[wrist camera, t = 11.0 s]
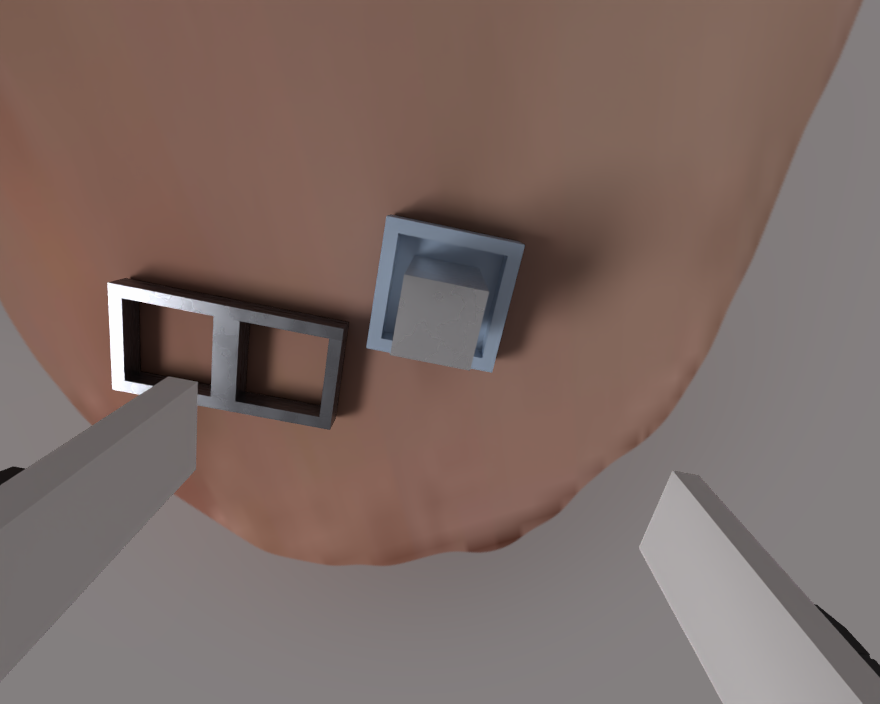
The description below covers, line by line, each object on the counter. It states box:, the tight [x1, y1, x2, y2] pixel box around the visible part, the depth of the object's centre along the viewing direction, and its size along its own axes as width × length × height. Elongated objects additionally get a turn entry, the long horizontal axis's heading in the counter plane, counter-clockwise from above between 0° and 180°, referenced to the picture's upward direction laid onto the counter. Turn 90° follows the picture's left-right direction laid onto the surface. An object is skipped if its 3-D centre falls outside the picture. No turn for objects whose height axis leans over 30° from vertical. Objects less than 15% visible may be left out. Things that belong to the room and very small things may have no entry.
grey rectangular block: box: [390, 255, 489, 370], centre depth 31 cm, size 5×5×9 cm
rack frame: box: [108, 278, 349, 430], centre depth 37 cm, size 9×18×2 cm, turn 79°
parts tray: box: [366, 215, 525, 372], centre depth 34 cm, size 10×10×2 cm
